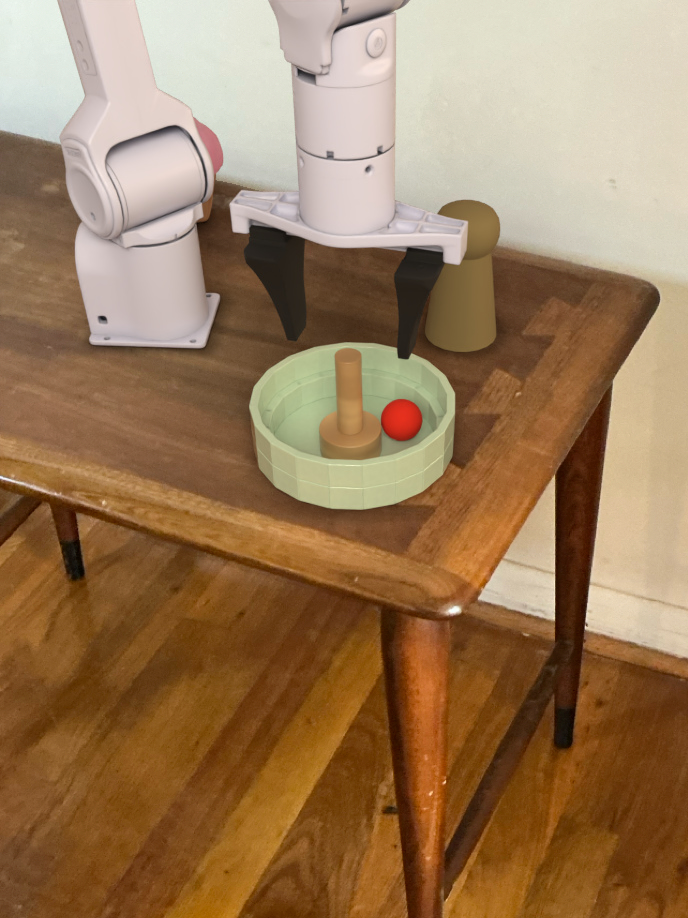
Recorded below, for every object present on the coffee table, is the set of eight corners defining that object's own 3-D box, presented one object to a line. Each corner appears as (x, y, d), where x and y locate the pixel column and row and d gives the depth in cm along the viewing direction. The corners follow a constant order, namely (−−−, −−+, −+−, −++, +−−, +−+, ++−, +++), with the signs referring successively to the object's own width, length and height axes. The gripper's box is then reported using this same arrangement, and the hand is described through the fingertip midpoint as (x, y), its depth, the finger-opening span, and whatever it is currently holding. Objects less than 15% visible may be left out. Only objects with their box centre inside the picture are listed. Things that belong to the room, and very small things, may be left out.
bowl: (242, 512, 69) (235, 461, 66) (269, 389, 80) (264, 339, 77) (451, 519, 69) (455, 468, 66) (452, 394, 79) (455, 345, 76)
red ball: (377, 439, 72) (384, 397, 72) (377, 434, 75) (384, 393, 75) (419, 446, 73) (426, 404, 72) (417, 441, 76) (424, 400, 75)
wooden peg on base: (311, 439, 74) (305, 345, 69) (367, 424, 76) (365, 331, 70) (333, 475, 71) (329, 380, 66) (391, 459, 73) (391, 365, 67)
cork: (491, 356, 83) (502, 230, 76) (418, 347, 84) (421, 221, 76) (501, 317, 88) (512, 194, 80) (431, 308, 88) (435, 186, 81)
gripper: (483, 127, 60) (470, 326, 70) (252, 99, 63) (269, 295, 72) (456, 178, 55) (446, 385, 65) (206, 145, 58) (231, 349, 67)
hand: (351, 342), depth 68 cm, fingers open, 7 cm apart
